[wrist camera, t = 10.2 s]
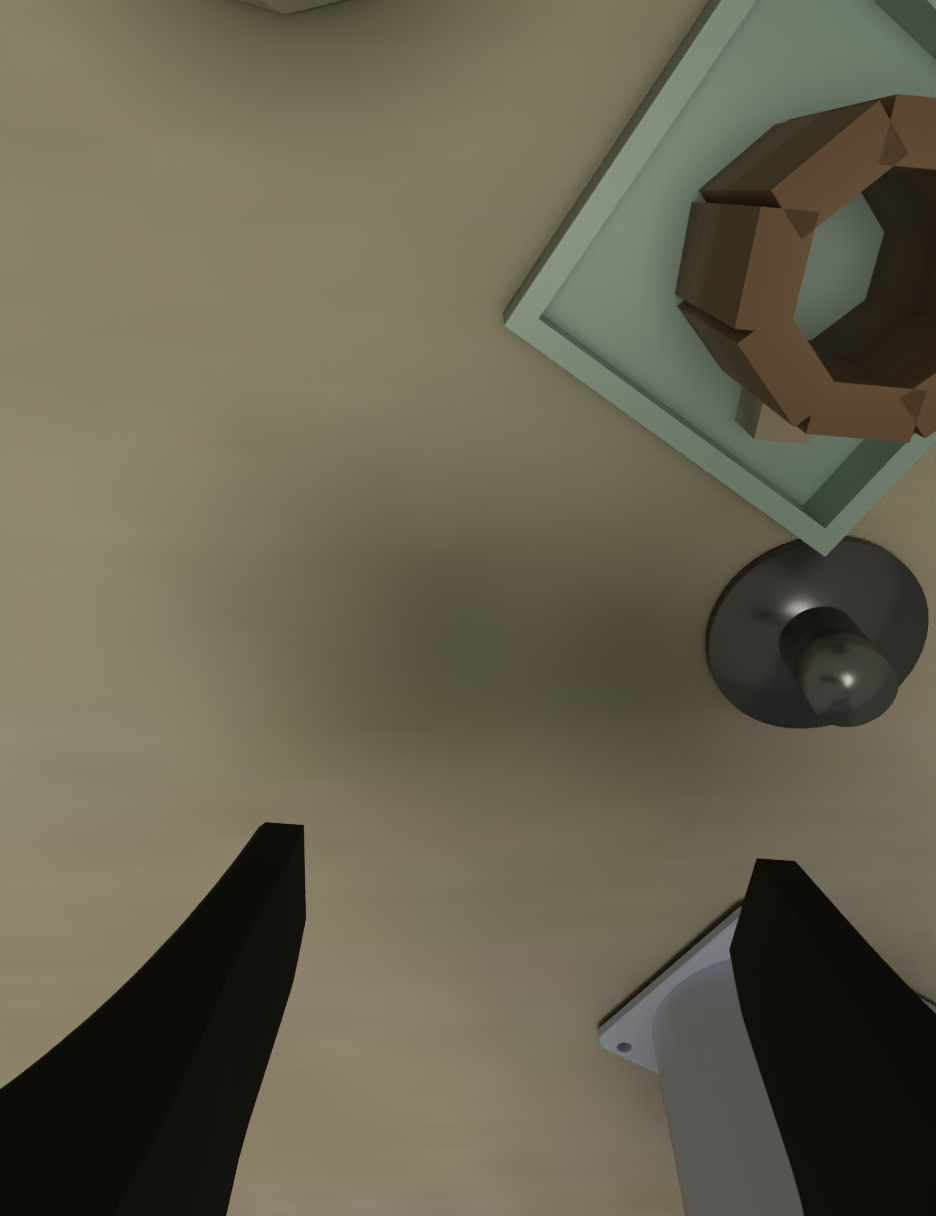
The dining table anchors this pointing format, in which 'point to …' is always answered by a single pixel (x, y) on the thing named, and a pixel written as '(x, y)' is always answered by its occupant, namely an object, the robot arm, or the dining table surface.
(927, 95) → the tray
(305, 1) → the white cup
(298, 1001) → the dining table surface
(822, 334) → the brown hollow octagonal cylinder
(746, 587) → the dark grey round stand
